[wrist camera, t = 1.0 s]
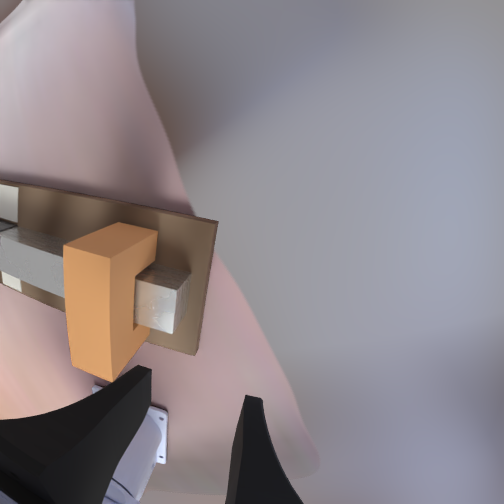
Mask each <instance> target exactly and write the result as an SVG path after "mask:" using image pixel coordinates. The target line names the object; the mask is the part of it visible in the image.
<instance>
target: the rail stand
mask: <svg viewBox="0 0 504 504" xmlns="http://www.w3.org/2000/svg"><path fill="white" fill-rule="evenodd" d="M117 222H120V223H125V224H129V225H134V226H138V227H142V228H147V229H151V230H156V231H158V238H157V247H156V256H155V261H154V262H152V263H151V264H150V265H149V266H147V267H146V268H145V269H143V270H142V271H141V272H140V273H138V274H137V275H136V276H135V288H134V311H133V322H134V323H137V324H140V325H143V326H147V327H150V334H149V336H148V337H147V338H146V340H145V342H149V343H152V344H155V345H158V346H161V347H165V348H168V349H172V350H175V351H178V352H182V353H185V354H189V355H193V356H195V355H196V353H197V350H198V347H199V340H200V333H201V326H202V319H203V313H204V306H205V300H206V293H207V287H208V281H209V274H210V268H211V262H212V256H213V250H214V245H215V239H216V233H217V227H218V221H215V220H210V219H205V218H200V217H196V216H191V215H186V214H181V213H177V212H172V211H167V210H162V209H157V208H152V207H147V206H142V205H137V204H132V203H127V202H122V201H117V200H111V199H106V198H101V197H96V196H90V195H85V194H80V193H74V192H69V191H63V190H58V189H52V188H47V187H41V186H35V185H30V184H24V183H18V182H12V181H6V180H0V283H1V284H3V285H5V286H7V287H9V288H11V289H14V290H16V291H18V292H20V293H22V294H24V295H26V296H29V297H31V298H33V299H35V300H37V301H40V302H42V303H44V304H46V305H49V306H51V307H53V308H56V309H58V310H61V311H63V312H65V313H66V308H65V294H64V270H63V245H64V244H67V243H69V242H71V241H74V240H76V239H78V238H81V237H83V236H85V235H88V234H90V233H93V232H95V231H97V230H100V229H102V228H105V227H107V226H110V225H112V224H115V223H117Z"/></svg>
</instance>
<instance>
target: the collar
mask: <svg viewBox="0 0 504 504" xmlns="http://www.w3.org/2000/svg"><path fill="white" fill-rule="evenodd" d="M157 238H158V231H156V230H151V229H147V228H142V227H138V226H134V225H129V224H125V223H120V222H117V223H115V224H112V225H110V226H107V227H105V228H102V229H100V230H97V231H95V232H93V233H90V234H88V235H85V236H83V237H81V238H78V239H76V240H74V241H71V242H69V243H67V244H64V245H63V270H64V294H65V308H66V320H67V330H68V339H69V346H70V354H71V361H72V366H74V367H77V368H79V369H81V370H83V371H86V372H88V373H90V374H93V375H95V376H97V377H100V378H102V379H105V380H107V381H110V382H113V381H115V379H116V378H117V377H118V375H119V374H120V373H121V371H122V370H123V369H124V367H125V366H126V365H127V363H128V362H129V361H130V359H131V358H132V357H133V355H134V354H135V353H136V351H137V350H138V349H139V348H140V346H141V345H142V344H143V342H144V341H145V340H146V338H147V337H148V336H149V334H150V327H147V326H143V325H140V324H137V323H134V322H133V311H134V288H135V276H136V275H137V274H138V273H140V272H141V271H142V270H143V269H145V268H146V267H147V266H149V265H150V264H151V263H152V262H154V261H155V256H156V247H157Z"/></svg>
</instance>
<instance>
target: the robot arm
mask: <svg viewBox="0 0 504 504" xmlns="http://www.w3.org/2000/svg"><path fill="white" fill-rule="evenodd" d="M151 374H152V369H149V368H146V367H143V366H140V365H137V366H135V367H134V368H132V369H131V370H130V371H128V372H127V373H125V374H124V375H122V376H121V377H119V378H118V379H116V380H115V381H113V382H112V383H110V384H109V385H107V386H105V387H104V388H102V387H100V386H97V385H94V386H93V387H92V392H93V394H92V395H90V396H88V397H86V398H84V399H82V400H80V401H78V402H76V403H73V404H71V405H69V406H66V407H64V408H61V409H58V410H55V411H51V412H48V413H45V414H41V415H36V416H31V417H25V418H18V419H6V420H0V504H140V501H139V499H140V498H141V496H142V494H143V492H144V489H145V487H146V485H147V482H148V480H149V478H150V475H151V473H152V471H153V469H154V466H155V464H156V462H159V463H162V464H165V463H166V455H167V423H168V413H167V412H166V411H165V410H162V409H159V408H156V407H153V406H150V404H151ZM225 504H303V502H302V500H301V499H300V497H299V496H298V494H297V493H296V492H295V490H294V489H293V487H292V486H291V484H290V482H289V480H288V478H287V477H286V475H285V473H284V471H283V469H282V467H281V464H280V462H279V460H278V458H277V455H276V453H275V450H274V447H273V444H272V442H271V438H270V435H269V432H268V428H267V424H266V420H265V415H264V409H263V400H262V399H261V398H258V397H253V396H249V395H245V399H244V403H243V406H242V410H241V414H240V417H239V421H238V424H237V428H236V433H235V437H234V441H233V446H232V454H231V463H230V472H229V481H228V490H227V497H226V501H225Z"/></svg>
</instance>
